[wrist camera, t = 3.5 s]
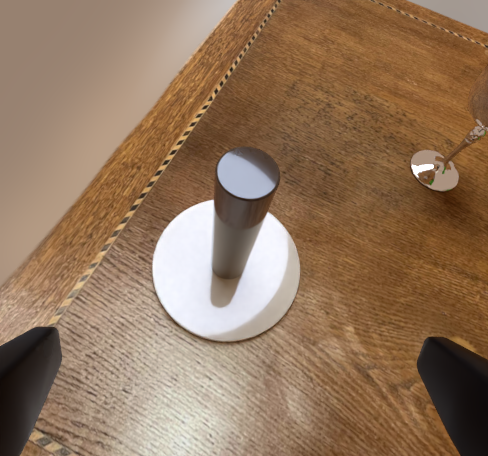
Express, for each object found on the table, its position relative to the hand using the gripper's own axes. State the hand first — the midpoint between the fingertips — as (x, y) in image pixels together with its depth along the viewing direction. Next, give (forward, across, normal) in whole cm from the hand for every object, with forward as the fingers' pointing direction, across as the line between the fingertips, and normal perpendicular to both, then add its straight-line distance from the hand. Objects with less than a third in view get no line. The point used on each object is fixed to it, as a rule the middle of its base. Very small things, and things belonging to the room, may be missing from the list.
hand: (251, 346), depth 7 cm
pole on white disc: (+13, 0, +4) cm, 14 cm away
